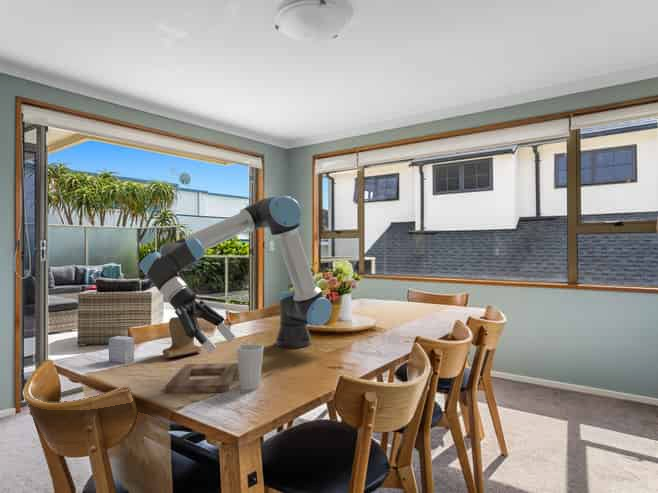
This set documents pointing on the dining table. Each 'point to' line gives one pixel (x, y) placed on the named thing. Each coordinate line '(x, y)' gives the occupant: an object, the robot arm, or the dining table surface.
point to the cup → (250, 366)
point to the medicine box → (121, 349)
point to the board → (203, 385)
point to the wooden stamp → (179, 341)
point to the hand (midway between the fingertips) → (223, 344)
